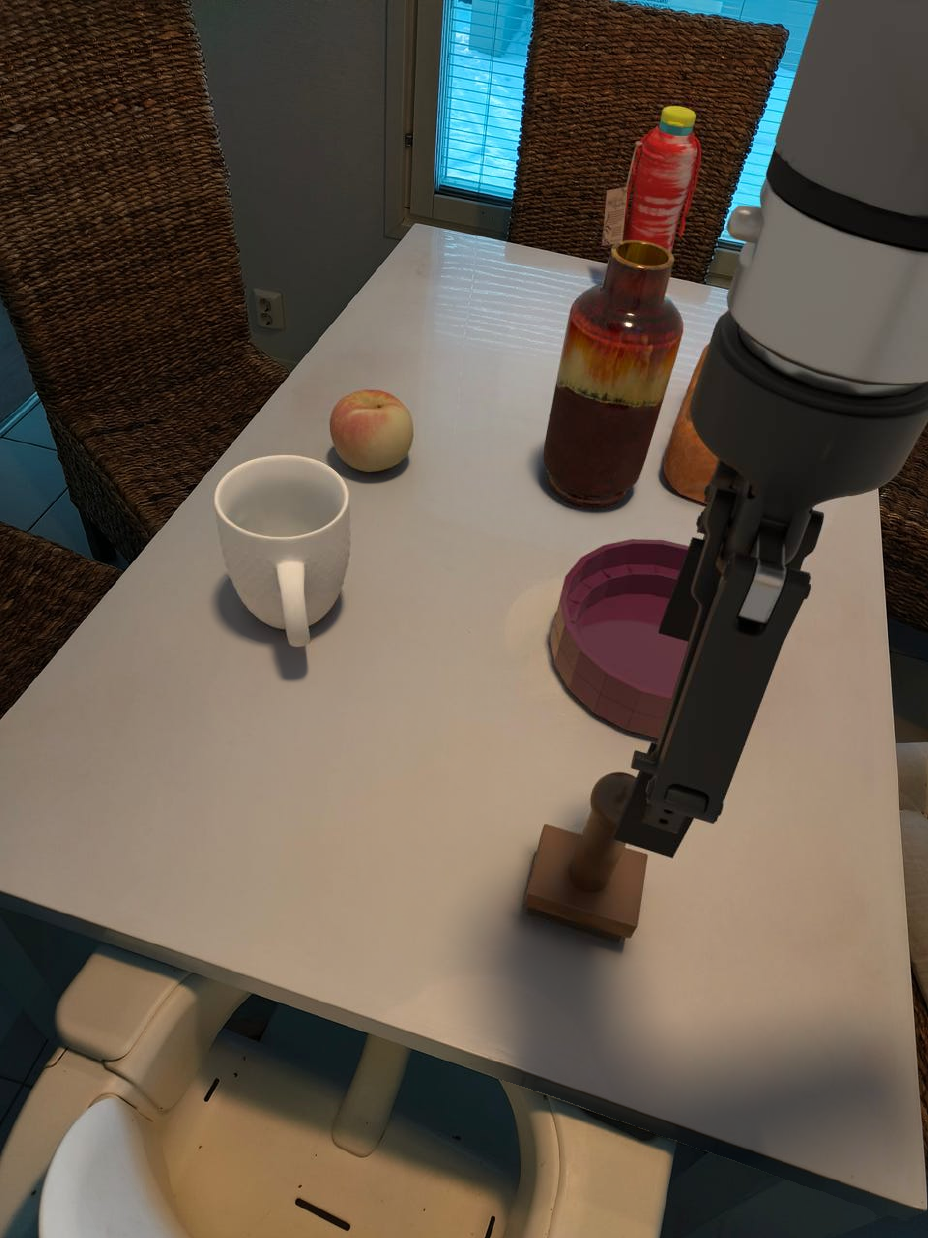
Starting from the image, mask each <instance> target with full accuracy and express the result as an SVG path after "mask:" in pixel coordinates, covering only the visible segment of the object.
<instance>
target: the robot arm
mask: <svg viewBox="0 0 928 1238" xmlns="http://www.w3.org/2000/svg"><path fill="white" fill-rule="evenodd" d="M785 103H786V104H785V107H784V110H783V113H782V118H781V120H780V123H779V125H778V126H779V127H778V130H777V133H776V136H775V140H774V142H775V145H774V147H773V150H772V153H771V156H770V160H769V162H768V166H767V169H766V172H765V178H764V181H763V183H762V184H761V188H760V192H759V205H760V206H754V205H737V206H735V208H734V209H733V210H732V211H731V212H730V215H729V218H728V220H727V223H726V227H725V229H726V231H727V233H728V235H729V236H730V237H731V238H733V239H734V240H737V241H742V242H745V243H744V245H743V246H742V248H741V249H740V253H739V257H738V259H737V263H736V266H735V270H734V273H733V276H732V278H731V282H730V285H729V289H728V291H727V295H726V303H727V310H728V309H729V312H727V313H725V312H724V313H725V314H724V313H723V314H724V315H723V314H722V315H723V316H722V315H721V316H722V317H721V318H720V319H719V318H718V319H719V320H718V319H717V321H716V323H715V325H714V328H713V331H712V335H711V337H710V341H709V342H708V344H709V346H708V349H707V353H706V356H705V359H704V362H703V365H702V368H701V371H700V374H699V378H698V381H697V384H696V387H695V390H694V393H693V396H692V400H691V406H690V413H691V420H692V423H693V426H694V429H695V431H696V433H697V434H698V436H699V438H700V439H701V441H702V442H703V443H704V445H705V446H706V447H707V448H708V449H709V450H710V451H711V452H712V453H713V454H714V455H715V456H716V457H717V458H718V461H717V465H716V468H715V472H714V474H713V476H712V478H711V481H710V483H709V485H708V486H707V485H706V487H705V490H704V494H703V495H705V499H704V502H706V503H708V504H706V506H705V507H704V509H703V511H701V512H700V515H698V517H697V519H696V522H695V525H696V528H697V529H696V533H698V534H701V535H703V537H702V539H701V538H698V537H696V536H695V537H694V536H692V538H691V540H690V543H689V545H688V546H689V548H688V551H687V553H686V556H685V559H684V561H683V564H682V567H681V570H680V572H679V575H678V578H677V580H676V583H675V586H674V588H673V591H672V594H671V597H670V599H669V602H668V605H667V607H666V610H665V613H664V615H663V618H662V621H661V623H660V628H659V632H658V633H659V634H663V635H666V636H670V637H673V638H677V639H680V640H684V641H687V642H688V645H687V649H686V652H685V655H684V658H683V662H682V665H681V668H680V671H679V675H678V678H677V681H676V685H675V688H674V691H673V694H672V698H671V701H670V704H669V707H668V711H667V714H666V717H665V721H664V724H663V727H662V730H661V734H660V737H659V738H658V741H657V742H653V741H651V742H650V744H649V747H648V750H647V752H643V751H641V750H637V749H634V752H633V755H632V759H631V764H630V769H633V770H636V771H638V772H637V775H636V776H635V777H636V780H635V782H634V785H633V787H632V789H631V792H630V794H629V796H628V799H627V801H626V804H625V806H624V808H623V811H622V813H621V815H620V818H619V820H618V823H617V825H616V829H615V834H614V838H613V839H614V840H617V841H620V842H624V843H626V845H630V846H632V847H636V848H640V849H641V850H645V851H648V852H652V853H655V854H657V855H661V856H664V857H666V858H670V859H673V858H674V857H675V855H676V852H677V851H678V849H679V848H680V846H681V843H682V841H684V839H685V836H686V834H687V833H688V831H689V829H690V827H691V825H692V823H693V821H694V820H695V819H696V820H699V821H702V822H705V823H708V824H711V825H714V824H715V823H716V822H717V821H718V819H719V816H720V817H721V815H722V812H723V810H724V804H725V803H724V801H725V800H726V797H727V793H728V791H729V788H730V786H731V784H732V781H733V778H734V775H735V773H736V770H737V767H738V765H739V762H740V759H741V756H742V754H743V751H744V749H745V746H746V743H747V740H748V738H749V735H750V733H751V730H752V727H753V725H754V722H755V720H756V717H757V714H758V711H759V709H760V706H761V704H762V701H763V699H764V696H765V693H766V690H767V688H768V685H769V682H770V680H771V678H772V674H773V672H774V670H775V666H776V664H777V662H778V658H779V656H780V654H781V651H782V647H783V645H784V644H785V640H786V639H787V636H788V634H789V632H790V630H791V628H792V626H793V623H794V622H795V620H796V618H797V616H798V614H799V611H800V609H801V607H802V605H803V604H804V601H805V600H807V599H808V597H809V596H810V593H811V590H812V584H811V579H812V577H811V573H810V572H808V571H805V570H801V569H802V567H803V564H804V561H805V559H806V558H807V557H809V556H810V555H811V554H812V553H813V552H814V550H815V548H816V546H817V544H818V540H819V538H820V533H821V531H822V529H823V528H822V527H823V524H824V520H825V512H823V511H820V510H815V509H813V508H815V506H818V505H820V504H822V503H825V502H828V501H832V500H835V499H841V498H846V497H855V496H860V495H864V494H867V493H871V492H873V491H875V490H878V489H879V488H881V487H884V486H885V485H886V484H888V483H889V482H890V481H892V480H893V479H894V478H895V477H896V476H897V475H898V474H899V473H900V472H901V470H902V468H903V467H904V465H905V463H906V462H907V459H908V458H909V457H910V454H911V453H912V451H913V449H914V447H915V445H916V444H917V441H918V439H920V436H921V434H922V433H923V431H924V429H925V427H926V426H927V424H928V0H817V3H816V6H815V9H814V13H813V16H812V19H811V22H810V26H809V28H808V32H807V35H806V40H805V41H804V45H803V48H802V51H801V55H800V59H799V60H798V65H797V68H796V71H795V74H794V78H793V81H792V84H791V88H790V91H789V94H788V97H787V100H786V102H785ZM779 653H780V654H779Z"/></svg>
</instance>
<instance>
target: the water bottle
mask: <svg viewBox="0 0 928 1238" xmlns="http://www.w3.org/2000/svg"><path fill="white" fill-rule="evenodd" d="M661 111H662V112H661V115H660V121H659V124H658V125H656V126H655V128H654V129H651V130H649V131H648V132H647V134H645V135H644V136H643V137H642V138H641V139H640V140H636V142H635V149H634V152H633V156H632V159H631V163H630V168H629V172H628V176H627V181H626V185H625V186H621V187H618V188H613V189H609V190H607V191H606V200H605V211H604V220H603V231H602V242H601V246H608V247H612V246H613V245H614V244H616V243H618V242H621V241H625V240H640V241H646V242H651V243H654V244H657V245H660V246H662V247H664V248H665V249H667V250H668V251H670V253H671V254H672V252H673V248H674V247H673V246H674V241H675V237H676V233H677V232H676V231H677V228H678V224H679V221H680V226H679V228H678V229H679V230H678V233H677V234H678V236H679V237H680V238H682V236H683V233H684V231H685V226H686V216H687V214H688V213H689V212H690V208H691V204H692V201H693V197H694V194H695V190H696V186H697V180H698V176H699V172H700V166H701V161H702V147H701V143H700V141H699V139H698V138H697V137H696V136H695V133H694V131H693V128H694V125H695V122H696V118H697V114H696V113H695V111H693V110H692V109H690V108H687V107H683V106H678V105H671V106H670V105H669V106H666V107H664V108H663V109H662V110H661ZM632 188H633V189H632ZM632 190H633V191H632ZM631 191H632V199H631V205H630V209H629V207H628V205H629V201H630V197H631ZM683 207H684V208H683ZM682 210H683V213H682ZM628 213H629V214H628ZM681 213H682V216H681Z"/></svg>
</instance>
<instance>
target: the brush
mask: <svg viewBox="0 0 928 1238" xmlns="http://www.w3.org/2000/svg"><path fill="white" fill-rule="evenodd" d="M636 777H637V776H635V775H633V774H631V773H628V772H624V771H614V772H610V773H608V774H607V773H606V774H605V775H604V776H602V777H601V778H599V779H598V780H597V781H596V783H594V786H593V787H592V790H591V792H590V798H589V803H590V804H589V805H590V809H591V810H590V812H589V816H588V818H587V821H586V823H585V826H584V828H583V831H582V833H577V832H574V831H571V830H568V829H565V828H561V827H557V826H554V825H551V824H547V823H544V824H543V827H542V830H541V833H540V836H539V840H538V843H537V844H538V845H537V848H536V852H535V857H534V861H533V864H532V869H531V873H530V877H529V881H528V884H527V889H526V893H525V897H524V900H523V901H524V902H523V906H524V907H527V909H526V913H525V914H526V916H529V917H533V918H537V919H540V920H543V921H547V922H550V923H552V924H555V925H560V926H562V927H566V928H569V929H571V930H575V931H578V932H581V933H585V934H588V935H591V936H594V937H597V938H601V939H605V940H607V941H611V942H614V943H617V944H620V943H621V941H622V939H623V937H624V938H627V939H632V936H633V935H634V934H635V931H636V930H637V928H638V926H639V920H640V919H639V918H640V912H641V906H642V898H643V891H644V884H645V879H646V871H647V870H646V869H647V863H648V857H649V856H648V854H647V853H644V852H642V851H638V850H634V849H631V848H627V847H626V846H627V843H624V842H620V841H617V840H614V839H613V838H614V834H615V829H616V825H617V823H618V820H619V818H620V815H621V813H622V811H623V808H624V806H625V804H626V801H627V799H628V796H629V794H630V792H631V789H632V787H633V785H634V782H635V780H636Z"/></svg>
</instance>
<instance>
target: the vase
mask: <svg viewBox="0 0 928 1238" xmlns="http://www.w3.org/2000/svg"><path fill="white" fill-rule="evenodd" d="M674 262H675V256H674V255H673V254H672V252H671V253H670V251H668V250H667V249H665V248H664V247H662V246H660V245H657V244H654V243H651V242H646V241H640V240H625V241H621V242H618V243H616V244H614V245H613V246H611V249H610V251H609V255H608V260H607V264H606V267H605V273H604V277H603V281H602V283H600V284H596V285H594V286H592V287H590V288H588V289H586V290H585V291H583V292H582V293H581V294H580V295H578V297H576V299H575V300H573V303H572V304H571V306H570V309H569V314H568V319H567V322H566V328H565V332H564V337H563V343H562V348H561V354H560V359H559V365H558V368H557V369H558V370H557V375H556V379H555V385H554V391H553V396H552V401H551V407H550V413H549V418H548V423H547V427H546V434H545V439H544V446H543V452H542V461H543V464H544V468H545V469H546V471H547V477H546V478H547V483H548V486H549V488H550V490H551V491H552V493H553V494H555V495H556V496H557V497H558V498H559V499H561V500H563V501H565V502H566V503H568V504H571V505H573V506H576V507H580V508H585V509H604V508H609V507H612V506H615V505H616V504H618V503H620V502H621V501H622V500H623V499H624V498H625V497H626V493H627V492H628V491H627V490H629V489H630V488H632V487H633V486H634V485H635V484H637V482H638V480H639V479H640V477H641V473H642V471H643V468H644V465H645V463H646V460H647V459H646V458H647V456H648V453H649V450H650V446H651V443H652V439H653V436H654V432H655V429H656V426H657V423H658V420H659V417H660V413H661V410H662V407H663V403H664V400H665V396H666V392H667V389H668V386H669V382H670V380H671V376H672V373H673V369H674V367H675V363H676V360H677V356H678V352H679V349H680V345H681V342H682V337H683V334H684V321H683V318H682V315H681V313H680V310H679V309H678V308H677V306H676V305H675V303H674V302H673V301H672V299H670V298H668V297H667V296H666V294H667V292H668V291H667V290H668V288H669V282H670V278H671V275H672V271H673V267H674Z"/></svg>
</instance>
